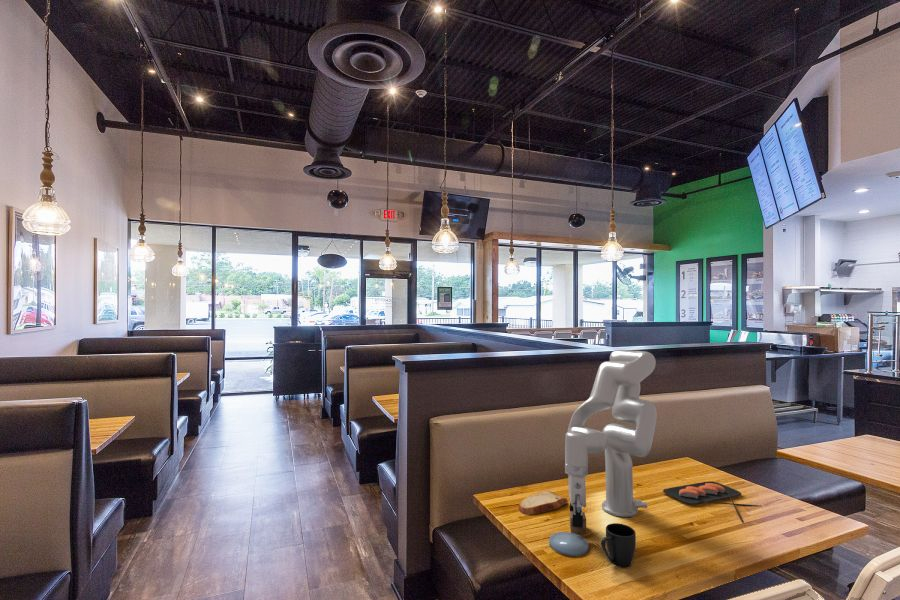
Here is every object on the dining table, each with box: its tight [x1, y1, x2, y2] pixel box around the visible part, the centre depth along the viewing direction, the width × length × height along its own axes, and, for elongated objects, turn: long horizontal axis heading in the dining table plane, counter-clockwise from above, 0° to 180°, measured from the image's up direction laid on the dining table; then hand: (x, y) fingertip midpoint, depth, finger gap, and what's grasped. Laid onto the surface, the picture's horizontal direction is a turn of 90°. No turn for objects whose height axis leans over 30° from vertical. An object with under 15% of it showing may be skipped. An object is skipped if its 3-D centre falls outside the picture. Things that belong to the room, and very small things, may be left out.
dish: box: [548, 531, 589, 557], centre depth 136 cm, size 12×12×1 cm
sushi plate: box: [662, 480, 761, 524], centre depth 166 cm, size 29×30×4 cm
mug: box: [600, 522, 637, 569], centre depth 126 cm, size 8×12×10 cm
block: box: [568, 510, 587, 535], centre depth 146 cm, size 5×5×5 cm
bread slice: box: [518, 490, 568, 516], centre depth 164 cm, size 18×18×4 cm
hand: (576, 520), depth 145 cm, fingers open, 9 cm apart
